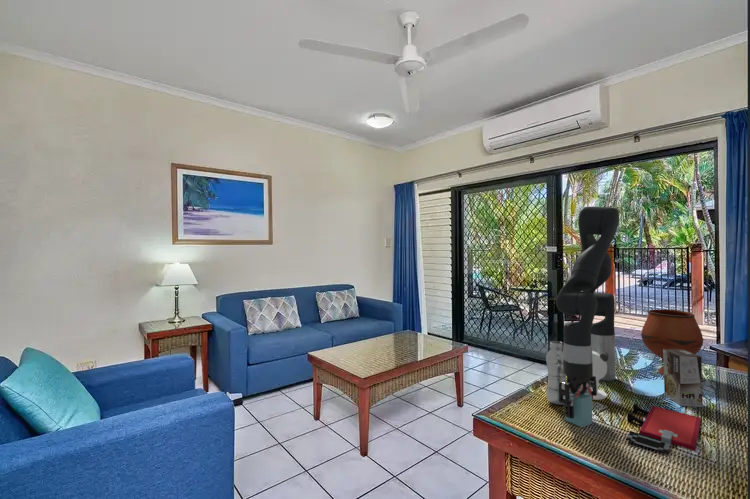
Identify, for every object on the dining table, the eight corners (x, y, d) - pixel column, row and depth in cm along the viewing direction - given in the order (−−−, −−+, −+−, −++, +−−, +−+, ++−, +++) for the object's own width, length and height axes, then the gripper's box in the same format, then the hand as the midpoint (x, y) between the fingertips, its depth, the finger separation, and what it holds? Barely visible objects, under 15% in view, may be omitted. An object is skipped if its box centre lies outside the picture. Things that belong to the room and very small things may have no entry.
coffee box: (704, 407, 111) (702, 356, 111) (680, 406, 113) (679, 355, 113) (684, 396, 120) (683, 348, 120) (663, 394, 121) (662, 348, 122)
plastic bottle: (567, 400, 118) (566, 340, 118) (569, 409, 112) (568, 345, 112) (546, 397, 120) (545, 339, 121) (546, 405, 114) (545, 343, 115)
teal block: (565, 420, 105) (564, 393, 105) (575, 416, 107) (575, 389, 107) (581, 427, 100) (581, 399, 100) (592, 423, 102) (591, 395, 103)
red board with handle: (616, 440, 93) (693, 465, 82) (617, 429, 93) (693, 453, 82) (637, 406, 114) (700, 422, 104) (637, 397, 114) (700, 412, 104)
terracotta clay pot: (650, 379, 136) (649, 314, 136) (636, 364, 154) (634, 307, 154) (714, 385, 129) (713, 317, 129) (691, 369, 146) (690, 309, 147)
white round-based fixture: (609, 391, 125) (609, 349, 125) (608, 402, 116) (607, 357, 116) (571, 384, 132) (570, 344, 132) (566, 394, 123) (566, 351, 123)
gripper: (579, 352, 110) (580, 404, 110) (550, 359, 104) (551, 414, 104) (604, 358, 104) (606, 413, 104) (574, 366, 97) (575, 425, 97)
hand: (578, 414), depth 104 cm, fingers open, 8 cm apart
